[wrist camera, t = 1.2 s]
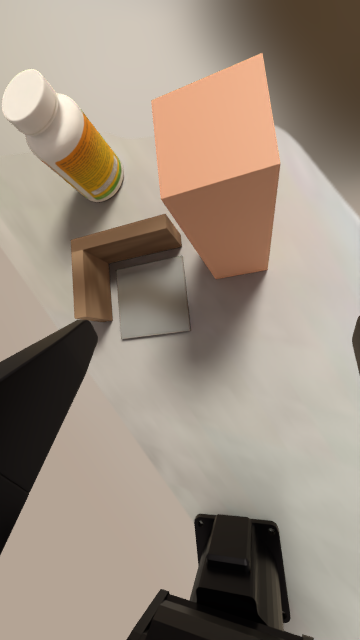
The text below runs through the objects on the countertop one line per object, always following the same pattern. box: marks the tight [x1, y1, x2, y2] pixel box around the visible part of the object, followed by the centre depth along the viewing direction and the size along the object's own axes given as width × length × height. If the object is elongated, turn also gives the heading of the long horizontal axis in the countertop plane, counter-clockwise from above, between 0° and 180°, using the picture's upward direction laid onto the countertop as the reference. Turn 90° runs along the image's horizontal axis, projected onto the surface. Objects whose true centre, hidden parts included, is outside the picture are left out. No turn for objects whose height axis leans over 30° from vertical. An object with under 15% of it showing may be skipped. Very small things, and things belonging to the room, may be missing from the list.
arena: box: [71, 214, 191, 339], centre depth 22 cm, size 9×9×4 cm
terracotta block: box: [151, 53, 280, 279], centre depth 15 cm, size 4×4×13 cm
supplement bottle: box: [2, 69, 123, 202], centre depth 22 cm, size 5×5×10 cm
